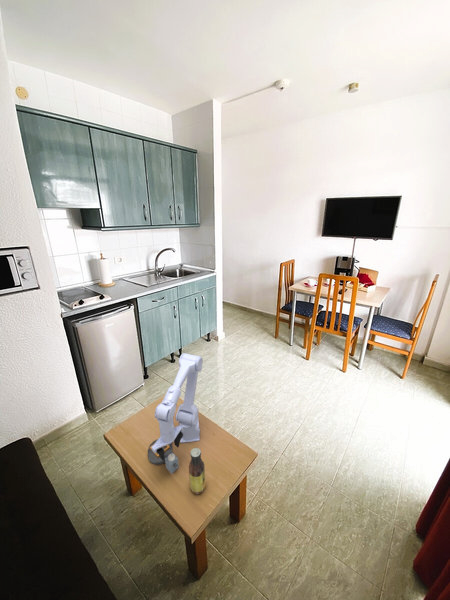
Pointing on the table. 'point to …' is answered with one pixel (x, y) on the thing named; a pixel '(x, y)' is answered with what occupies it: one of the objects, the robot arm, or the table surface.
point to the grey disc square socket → (155, 457)
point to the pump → (172, 462)
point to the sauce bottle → (196, 472)
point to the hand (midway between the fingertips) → (169, 451)
